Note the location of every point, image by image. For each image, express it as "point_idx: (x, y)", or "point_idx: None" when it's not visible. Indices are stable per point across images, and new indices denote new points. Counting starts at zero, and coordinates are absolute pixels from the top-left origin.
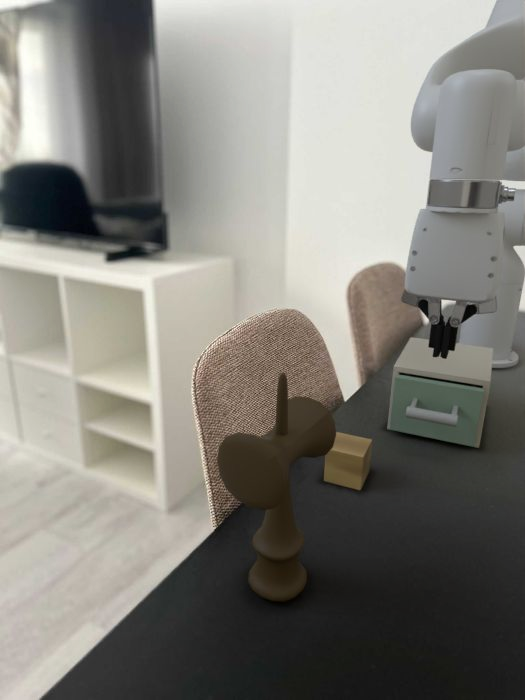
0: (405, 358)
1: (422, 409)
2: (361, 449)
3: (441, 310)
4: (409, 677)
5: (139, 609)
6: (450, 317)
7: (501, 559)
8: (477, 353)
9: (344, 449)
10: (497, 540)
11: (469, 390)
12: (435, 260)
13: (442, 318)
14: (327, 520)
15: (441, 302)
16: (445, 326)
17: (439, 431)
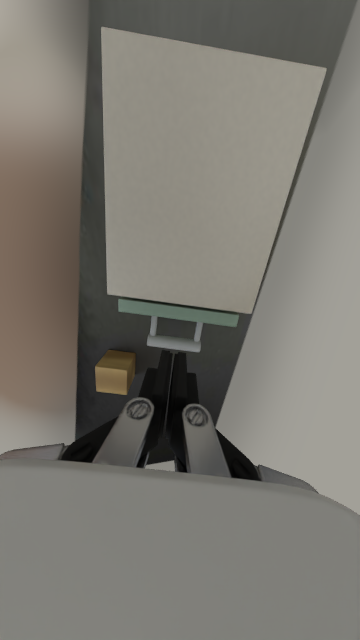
0: (118, 247)
1: (163, 344)
2: (122, 386)
3: (147, 432)
4: (171, 456)
5: None
6: (176, 441)
7: (213, 406)
8: (268, 147)
9: (110, 389)
10: (214, 395)
11: (218, 324)
12: None
13: (156, 438)
14: (123, 402)
15: (138, 454)
16: (167, 435)
17: None
